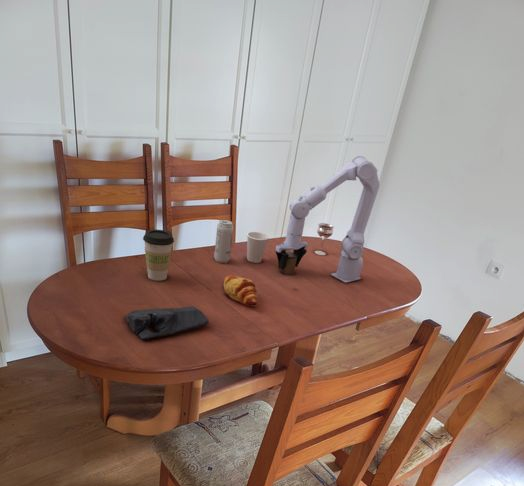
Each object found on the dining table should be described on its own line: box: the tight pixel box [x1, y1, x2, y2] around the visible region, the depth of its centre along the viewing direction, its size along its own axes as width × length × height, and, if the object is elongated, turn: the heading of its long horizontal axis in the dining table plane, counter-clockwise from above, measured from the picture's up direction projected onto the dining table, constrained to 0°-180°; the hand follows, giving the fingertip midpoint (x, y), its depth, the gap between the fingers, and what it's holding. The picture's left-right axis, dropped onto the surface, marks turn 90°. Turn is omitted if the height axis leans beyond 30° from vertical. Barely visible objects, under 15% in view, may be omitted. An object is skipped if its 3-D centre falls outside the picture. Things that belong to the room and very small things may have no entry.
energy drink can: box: [213, 219, 234, 264], centre depth 177 cm, size 6×6×15 cm
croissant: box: [223, 274, 258, 307], centre depth 156 cm, size 21×10×8 cm, turn 30°
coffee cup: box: [142, 229, 175, 282], centre depth 157 cm, size 10×10×15 cm
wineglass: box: [314, 222, 335, 256], centre depth 202 cm, size 7×7×12 cm
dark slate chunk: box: [125, 305, 209, 341], centre depth 134 cm, size 15×22×5 cm
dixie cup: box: [246, 231, 269, 264], centre depth 184 cm, size 8×8×10 cm
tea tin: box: [280, 251, 298, 276], centre depth 180 cm, size 6×6×7 cm
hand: (288, 267), depth 180 cm, fingers open, 7 cm apart
